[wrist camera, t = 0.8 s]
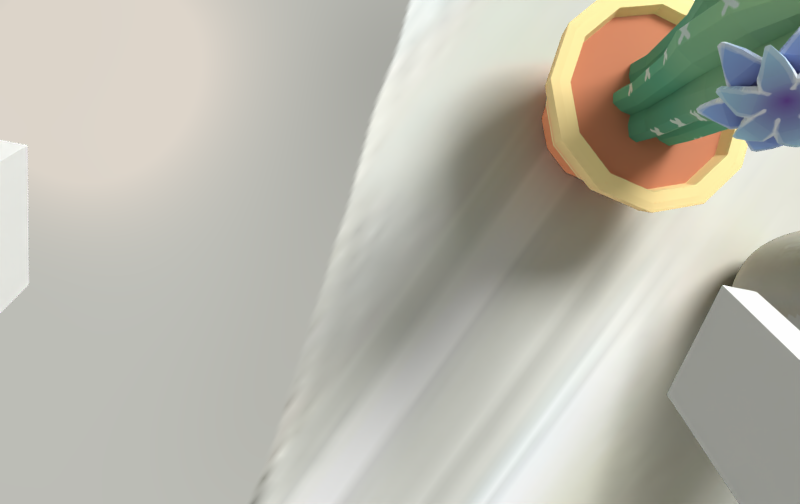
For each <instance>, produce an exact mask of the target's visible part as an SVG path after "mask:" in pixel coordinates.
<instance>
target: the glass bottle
mask: <svg viewBox="0 0 800 504" xmlns="http://www.w3.org/2000/svg"><path fill="white" fill-rule="evenodd" d="M732 287H735V288H740V289H745V290H750V291H755V292H757V293H758V294H760V295H761V296H762V297H763V298H764V299H765V300H766V301H767V302H768V303H770V304H771V305H772V306H773V307H774V308H775V309H776V310H777V311H778V312H780V313H781V314H782V315H783V316H784V317H785V318H786V319H787V320H788V321H790V322H791V323H792V324H793V325H794V326H795V327H796V328H797V329H798V330H800V231H797V232H793V233H789V234H786V235H783V236H781V237H778V238H776V239H774V240H772V241H770V242H768V243H766V244H764V245H763V246H761V247H760V248H758V249H757V250H756V251H755V252H753V253H752V254H751V255H750V256H749V257H748V258H747V260H746V261H745V262H744V264H743V265H742V266H741V268H740V270H739V272H738V273H737V275H736V277H735V280H734V282H733V285H732Z"/></svg>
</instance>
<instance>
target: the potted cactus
mask: <svg viewBox="0 0 800 504" xmlns="http://www.w3.org/2000/svg"><path fill="white" fill-rule="evenodd" d="M545 90H546V96H547V101H546V106H545V109H544V112H543V115H542V123H543V129H544V135H545V140H546V146H547V149H548V150H549V152H550V153H551V154H552V156H553V157H554V158H555V159H556V161H557V162H558V163H559V165H560V166H561V167H562V169H563V170H564V171H565V172H566V173H568V174H570V175H573V176H575V177H577V178H579V179H581V180H583V181H584V182H585V184H586V185H587V186H588V187H589V189H590V190H593V191H595V192H597V193H600V194H602V195H604V196H606V197H609V198H611V199H613V200H616V201H618V202H620V203H623V204H625V205H627V206H630V207H632V208H634V209H637V210H639V211H645V212H651V213H652V212H658V211H664V210H670V209H676V208H681V207H687V206H693V205H699V204H704V203H705V202H706V201H707V200H708V199H709V198H710V197H711V196H712V195H713V194H714V193H715V192H716V191H717V190H718V189H719V188H720V187H722V186H723V185H724V184H725V183H726V182H727V181H728V180H729V179H730V178H731V177H732V176H733V175H734V174H735V173H736V172H737V171H738V170H739V169H740V168H741V167H742V164H743V160H744V157H745V153H746V150H747V146H749V148H750V150H751V151H756V152H757V151H763V150H768V149H773V148H776V147H780V146H783V145H785V146H790V147H800V0H695V1H694V0H597V1H595V2H594V3H593V4H592V5H590V6H589V7H588V8H587V9H586V10H584V11H583V12H582V13H581V14H579V15H578V16H577V17H576V18H575V19H573V20H572V21H571V22H570V23H569V24H568V26H567V27H566V29H565V31H564V33H563V34H562V37H561V40H560V43H559V46H558V49H557V52H556V55H555V58H554V61H553V64H552V67H551V70H550V73H549V76H548V79H547V82H546V85H545Z"/></svg>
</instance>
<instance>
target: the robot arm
mask: <svg viewBox="0 0 800 504" xmlns="http://www.w3.org/2000/svg"><path fill="white" fill-rule="evenodd" d="M28 240H29V238H28V145H24V144H19V143H14V142H9V141H4V140H0V313H1V312H2V311H3V310H4V309H5V308H6V307H7V306H8V305H9V304H10V303H11V302H12V301H13V300H14V299H15V298H16V297H17V296H18V295H19V294H20V293H21V292H22V291H23V290H24V289H25V288H26V287H27V286H28V285H29V241H28ZM667 396H668V397H669V399H670V400H671V402H672V403H673V405H674V406H675V408H676V409H677V411H678V412H679V414H680V415H681V417H682V418H683V420H684V421H685V423H686V424H687V426H688V427H689V429H690V431H691V432H692V434H693V435H694V437H695V438H696V440H697V441H698V443H699V444H700V446H701V447H702V449H703V450H704V452H705V453H706V455H707V456H708V458H709V459H710V461H711V462H712V464H713V465H714V467H715V468H716V470H717V471H718V473H719V474H720V476H721V477H722V479H723V481H724V482H725V484H726V485H727V487H728V488H729V490H730V491H731V493H732V494H733V496H734V497H735V499H736V500H737V502H738V503H739V504H800V330H798V329H797V328H796V327H795V326H794V325H793V324H792V323H791V322H790V321H788V320H787V319H786V318H785V317H784V316H783V315H782V314H781V313H780V312H778V311H777V310H776V309H775V308H774V307H773V306H772V305H771V304H770V303H768V302H767V301H766V300H765V299H764V298H763V297H762V296H761V295H760V294H758V293H757V292H755V291H750V290H745V289H740V288H735V287H730V286H725V285H722V287H721V289H720V290H719V292H718V294H717V296H716V298H715V300H714V302H713V304H712V306H711V308H710V310H709V312H708V314H707V316H706V318H705V320H704V322H703V324H702V326H701V328H700V330H699V332H698V334H697V336H696V338H695V340H694V342H693V344H692V346H691V348H690V349H689V351H688V353H687V355H686V357H685V359H684V361H683V363H682V365H681V367H680V369H679V371H678V373H677V375H676V377H675V379H674V381H673V383H672V385H671V387H670V389H669V391H668V393H667Z"/></svg>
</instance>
